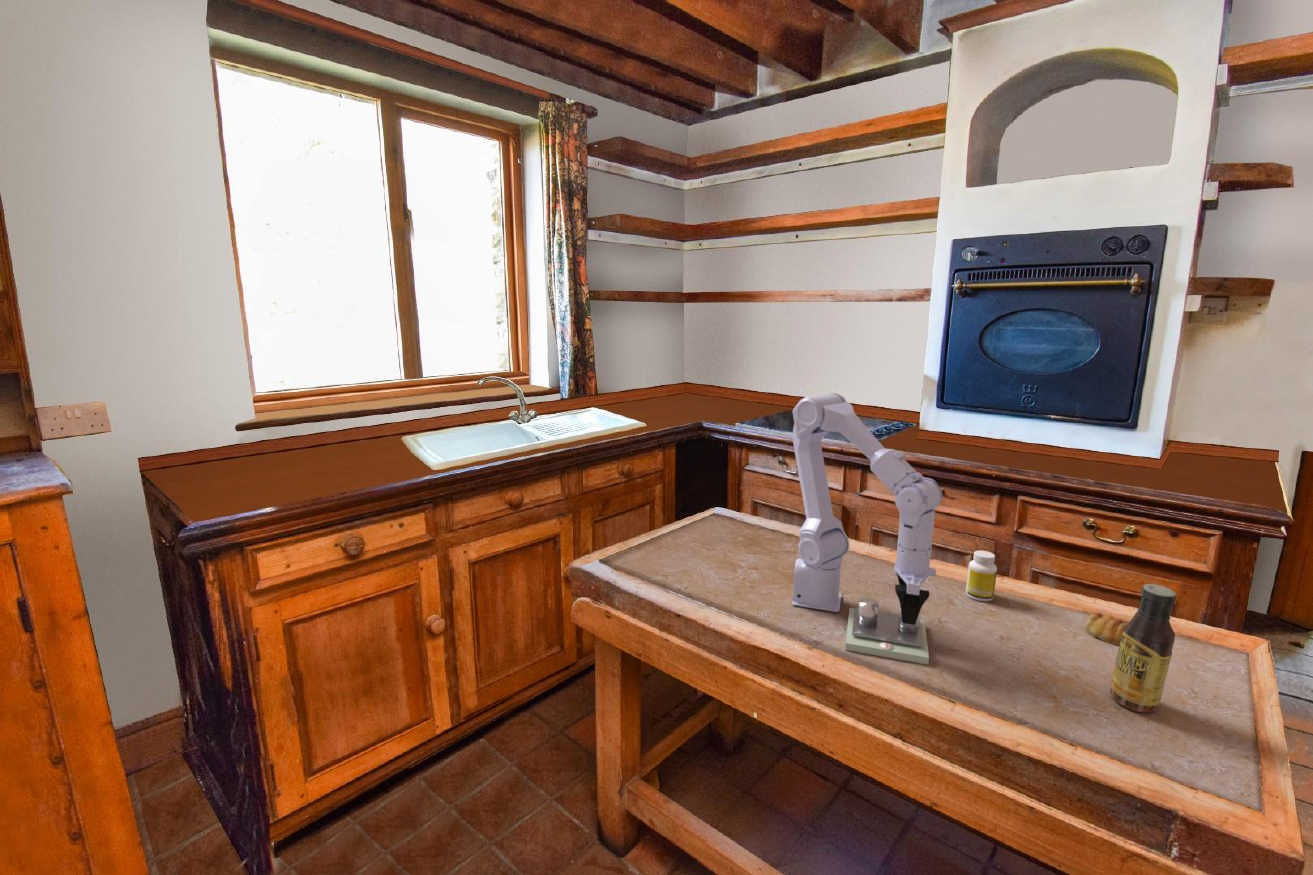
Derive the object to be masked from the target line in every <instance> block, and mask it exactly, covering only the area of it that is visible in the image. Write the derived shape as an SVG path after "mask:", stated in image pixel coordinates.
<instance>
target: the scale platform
mask: <svg viewBox="0 0 1313 875" xmlns="http://www.w3.org/2000/svg"><path fill="white" fill-rule="evenodd" d="M854 608H855V611H854V621H853V631H852V635H853V636H859V637H865V638H871V639H877V640H883V641H889V642H894V643H900V644H906V645H912V646H918V647H922V635H921V626H920V621H919V631H918V632H917V633H906V632H903V631H901V630H900V629H899V628H898V620H899V613H893V612H886V611H885V612H884V611H879V610H878V620H877V625H876V626H872V627H869V626H864V625H861V624H860V623H859V622H858V621H857V620H858V607H854Z"/></svg>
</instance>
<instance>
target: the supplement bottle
mask: <svg viewBox="0 0 1313 875" xmlns="http://www.w3.org/2000/svg"><path fill="white" fill-rule="evenodd" d="M995 559H996V555H995V553H992V552H990V551H988V550H987V551H986V550H975V551H974V553H973V560H971V561H970V562H969V563H968V569H967V577H966V587H965V594H966V596H967V597H969V598H971V599H973V600H975V601H979V602H991V601H993V600H994V596H995V589H996V588H995V587H996V579H997V574H998V568H997V565H996V564H995V562H996V561H995Z"/></svg>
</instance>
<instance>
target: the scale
mask: <svg viewBox="0 0 1313 875" xmlns="http://www.w3.org/2000/svg"><path fill="white" fill-rule="evenodd" d="M855 608H856V607H854V608H853V607H849V612H848V619H847V620H848V621H847V628H846V635H845V636H846V637H845V644H844V646H845V647H844V649H845V651H849V652H855V653H856V652H857V653H861V654H867V655H872V656H878V657H883V658H889V659H893V660H900V661H906V662H911V663H915V664H916V663H917V664H922V665H927V666H929V660H930V656H929V647H928V638H927V630H926V622H925V619H924V618H923V619H922V618H920V626H921V635H922V647H918V646H912V645H906V644H900V643H894V642H889V641H883V640H877V639H871V638H865V637H859V636H853V635H852V631H853V621H854V611H855Z"/></svg>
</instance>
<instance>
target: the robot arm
mask: <svg viewBox="0 0 1313 875" xmlns="http://www.w3.org/2000/svg"><path fill="white" fill-rule="evenodd" d="M792 415H793V421H794V422H793V423H794V424H793V429H792V434H791V436H792V444H793V449H794V455H795V456H794V457H795V460H796V467H797V472H798V477H799V485H800V488H801V489H800V490H801V496H802V501H803V506H804V513H805V514H804V515H805V517H806V518H805V521H804V522H803V523H802V526H801V527H800V529H799V531H798V533H799V544H798V552H799V556H800V558H796V560H795V566H794V571H793V572H794V573H793V584H792V601H791V602H792V603H791V604H792V605H793V606H797V607H802V608H809V609H814V610H815V609H816V610H821V611H826V612H827V611H828V612H833V613H839V612H840V608H841V601H842V594H841V593H840V581H841V569H842V566H841V565H842V562H843V556H845V555H846V554H847V553H848V551H849V549H850V540H849V537H848V536H847V534H846V532H845V530H844V527H843V522H842V521H841V520H840V519H838V518H837V517H836V516H834V511H833V506H832V502H831V495H830V489H829V483H828V478H827V472H826V466H825V465H826V464H825V459H824V455H823V448H822V441H823V439H824V437H825V436H826V435H827V434H828V433H829V432H831V433H832V432H833V433H839V434H841V435H843V436H844V437H845V438H846V439H847V440H848V441H849V442H850V443H851V444H852V445H853V446H854V447H855V448H857V449H858V451H860V452H861V453H862V454H863V455H864V456H866V458H867V459H868V460H869V461H870V463H869V464H870V467H869V468H870V470H871V472H872V473H873V474H874V476H876V478H878V479H879V480H880V482H881V483H882V484H883V485H884V486H885V487H886V488H887V489H888V490H889V491H890V492H891V493H892V495H894V504H895V505H896V508H897V509H898V512H899V517H898V518H899V523H898V535H897V543H896V545H897V546H896V557H895V563H894V565H893V566H894V567H893V569H894V572H895V574H896V576H897V580H898V584H896V583H895V584H894V590H895V594H896V596H897V597H898V602H899V604H900V606H901V617H902V622H903V623H905V624H911V625H915V623H916V621H917V618H918V615H919V612H920V613H921V611H922V608H923V607H924V606H923V605H924V604H925V603H926V601H928V599H929V597H930V591H929V590H923V589H921V585H922V584H923V583H924V582H925V581H926V580H927V579H928V578H929V577H936V575H937V570H936V568H934V567H930V566H931V555H932V554H931V553H932V546H933V535H934V526H935V524H934V523H935V515H936V510H935V509H937V508H938V507H939V506H940V505H941V504H942V502H943V491H942V489H941V488H940V485H938V483H937V481H936V480H934V479H933V478H929V477H924V476H923V474H922V473H921V472H917V471H916V470H915V469H914V468H913V467H912V465H911V464H910V463H909V462H908V461H907V460H906V459H905V457H906V456H905V455H904V454H903V452H901V451H897V450H896V449H894V448H885V447H884V446H883V445H882V443H881V442H880V441H879V439H878V438H877V437H876V436H875V435H874V434H873V432H871V431H870V430H869V428H868V427H867V426H866V425H865V424H864V423H863V421H862V420H861V418H859V417H858V415H857V414H856V412H855V411H854V407H853V405H852V404H851V403H850V402H849V401H847V399H846V398H845V397H844V396H843V395H842V394H840V393H837V392H832V393H829V394H824V395H817V396H805V397H803V398H800V400H799V401H798V403H797V404H796V405H795V406H794V407H793V409H792ZM900 606H899V607H900Z"/></svg>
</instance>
